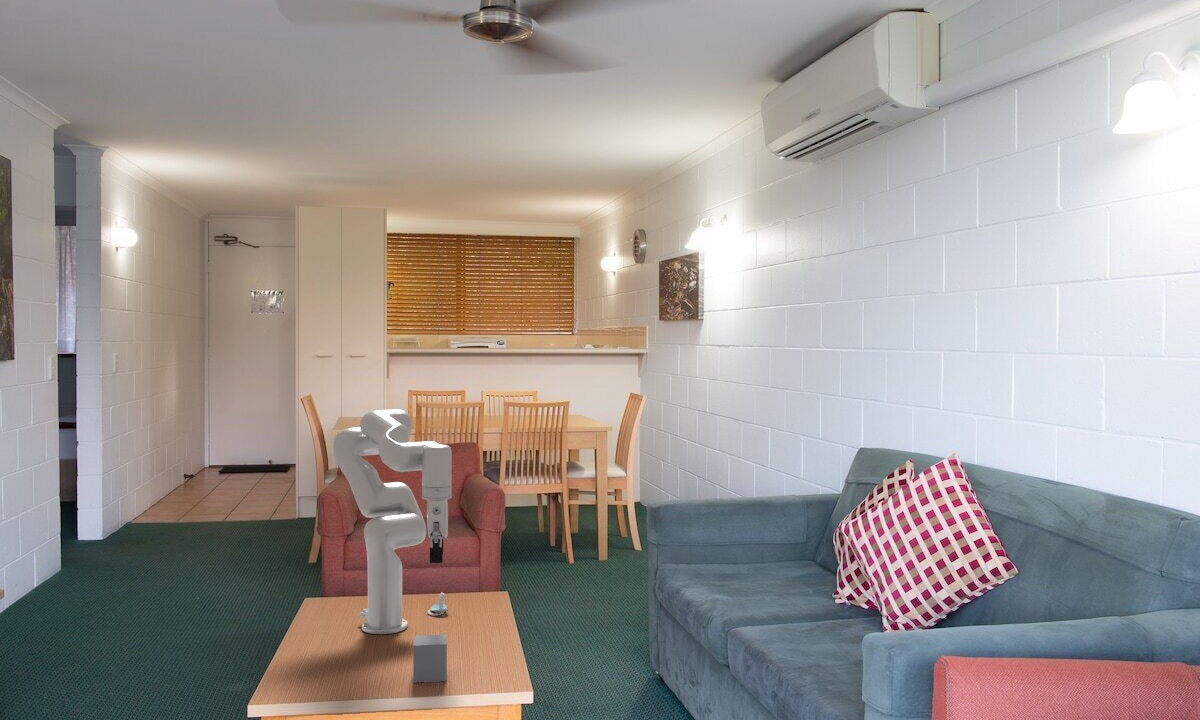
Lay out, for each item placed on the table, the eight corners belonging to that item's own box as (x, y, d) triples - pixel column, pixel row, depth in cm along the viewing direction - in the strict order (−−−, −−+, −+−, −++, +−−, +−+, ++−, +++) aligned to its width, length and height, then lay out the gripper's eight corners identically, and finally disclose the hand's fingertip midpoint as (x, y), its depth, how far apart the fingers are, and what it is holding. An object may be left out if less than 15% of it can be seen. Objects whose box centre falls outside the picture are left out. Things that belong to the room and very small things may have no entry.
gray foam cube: (413, 682, 217) (413, 645, 217) (414, 671, 224) (414, 635, 224) (446, 681, 218) (446, 644, 218) (446, 670, 225) (446, 634, 225)
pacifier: (428, 618, 270) (449, 616, 272) (428, 597, 270) (448, 594, 272) (425, 611, 277) (445, 609, 279) (425, 591, 277) (445, 588, 279)
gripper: (451, 497, 231) (451, 565, 231) (451, 487, 248) (451, 550, 248) (420, 498, 230) (420, 566, 230) (423, 487, 247) (423, 551, 247)
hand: (436, 558), depth 239 cm, fingers open, 9 cm apart
